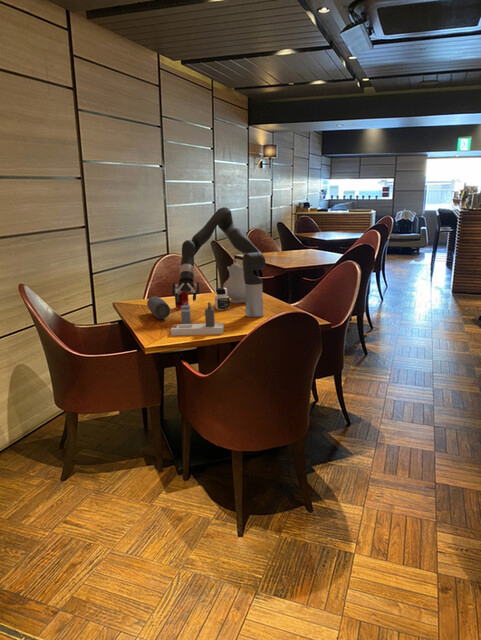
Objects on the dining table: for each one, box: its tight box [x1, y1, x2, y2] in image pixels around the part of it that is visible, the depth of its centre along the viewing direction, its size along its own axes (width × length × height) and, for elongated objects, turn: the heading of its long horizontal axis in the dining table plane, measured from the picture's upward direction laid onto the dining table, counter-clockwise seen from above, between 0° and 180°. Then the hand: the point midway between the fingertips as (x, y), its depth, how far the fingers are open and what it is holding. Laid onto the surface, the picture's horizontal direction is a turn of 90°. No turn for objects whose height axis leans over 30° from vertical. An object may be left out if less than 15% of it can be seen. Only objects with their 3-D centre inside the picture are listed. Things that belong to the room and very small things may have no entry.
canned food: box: [174, 288, 190, 310], centre depth 282 cm, size 8×8×11 cm
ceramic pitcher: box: [222, 259, 245, 304], centre depth 294 cm, size 22×20×25 cm
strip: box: [170, 302, 225, 337], centre depth 226 cm, size 24×9×14 cm, turn 89°
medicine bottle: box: [214, 287, 231, 311], centre depth 276 cm, size 7×7×12 cm
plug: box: [180, 305, 192, 324], centre depth 239 cm, size 4×4×10 cm
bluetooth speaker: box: [146, 295, 171, 320], centre depth 262 cm, size 23×9×10 cm, turn 21°
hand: (185, 300), depth 246 cm, fingers open, 8 cm apart
